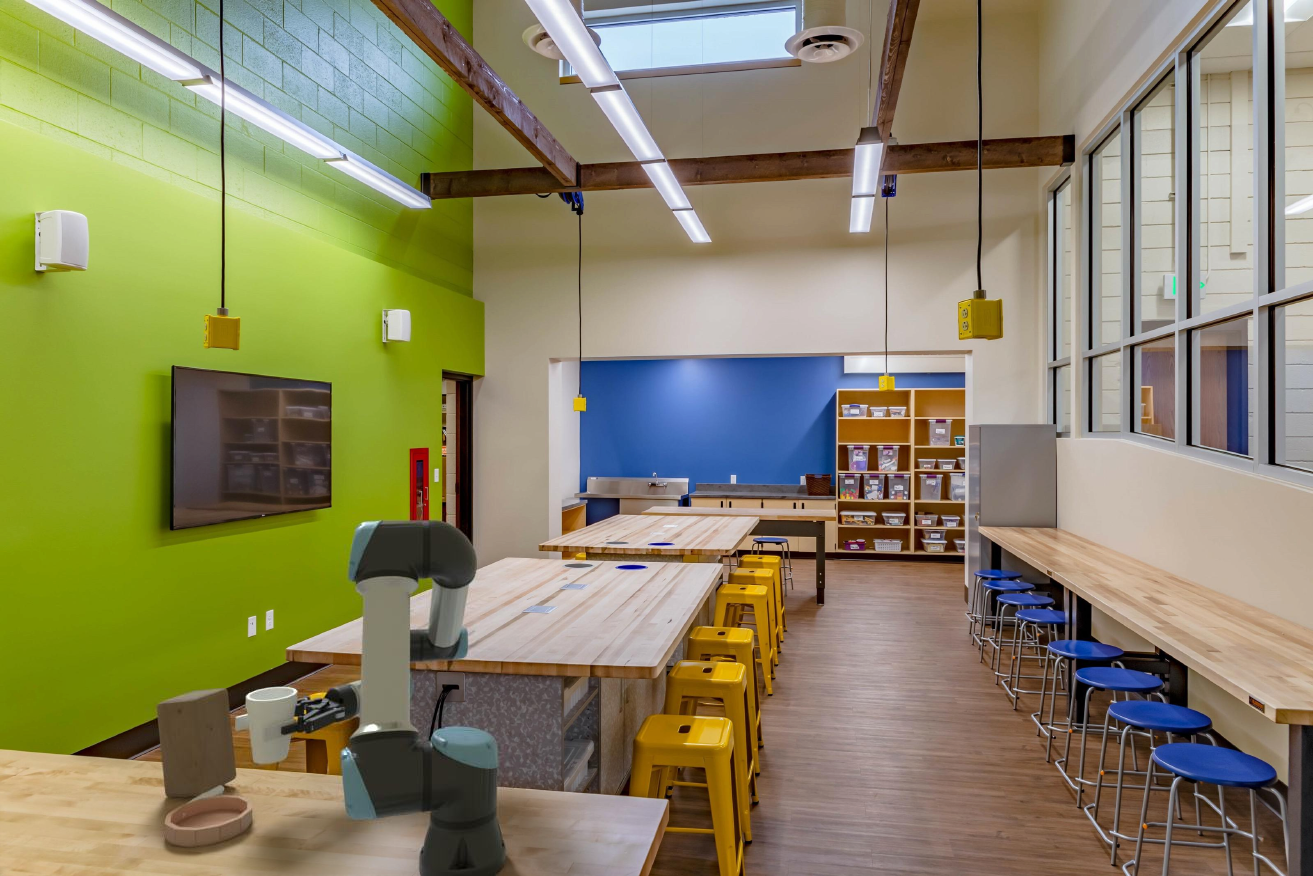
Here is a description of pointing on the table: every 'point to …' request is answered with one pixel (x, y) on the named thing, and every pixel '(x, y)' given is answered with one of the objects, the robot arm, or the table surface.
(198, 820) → the bowl
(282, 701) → the foam cup
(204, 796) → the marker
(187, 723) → the wooden block
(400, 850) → the table surface
